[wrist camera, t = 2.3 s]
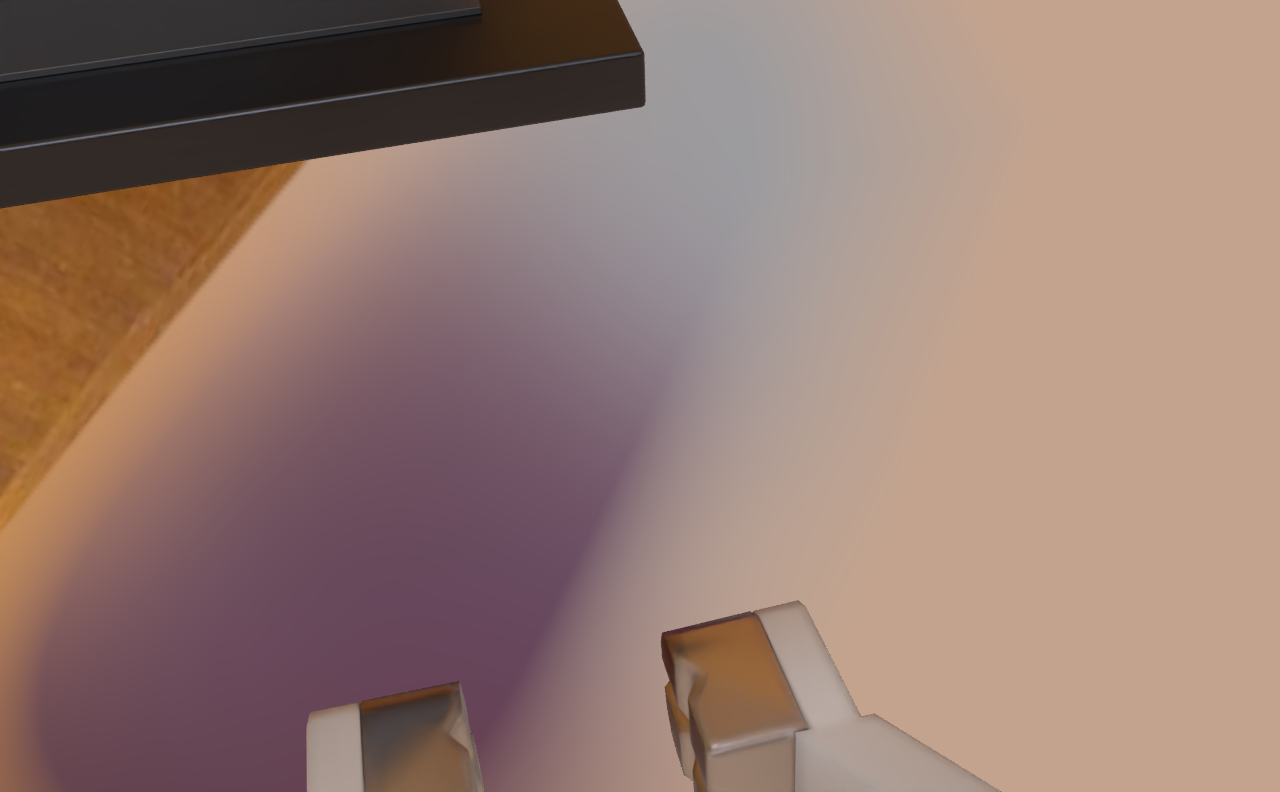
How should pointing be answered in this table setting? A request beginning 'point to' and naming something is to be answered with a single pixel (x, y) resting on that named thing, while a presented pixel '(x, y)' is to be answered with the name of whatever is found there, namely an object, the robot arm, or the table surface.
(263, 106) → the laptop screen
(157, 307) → the table surface
